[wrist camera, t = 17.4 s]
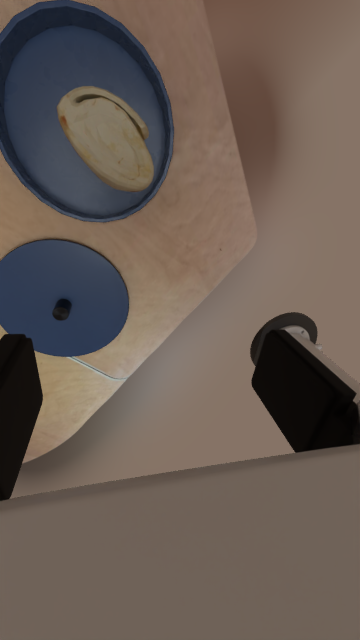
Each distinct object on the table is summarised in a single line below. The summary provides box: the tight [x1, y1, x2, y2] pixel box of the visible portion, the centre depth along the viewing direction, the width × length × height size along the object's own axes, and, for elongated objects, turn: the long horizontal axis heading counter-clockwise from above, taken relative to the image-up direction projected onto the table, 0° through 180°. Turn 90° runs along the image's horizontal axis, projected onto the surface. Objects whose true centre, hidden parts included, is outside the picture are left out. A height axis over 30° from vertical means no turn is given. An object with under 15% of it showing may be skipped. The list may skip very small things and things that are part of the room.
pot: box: [0, 0, 174, 222], centre depth 34 cm, size 22×22×4 cm
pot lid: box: [0, 239, 129, 357], centre depth 45 cm, size 23×23×5 cm
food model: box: [57, 86, 154, 192], centre depth 29 cm, size 10×7×20 cm
